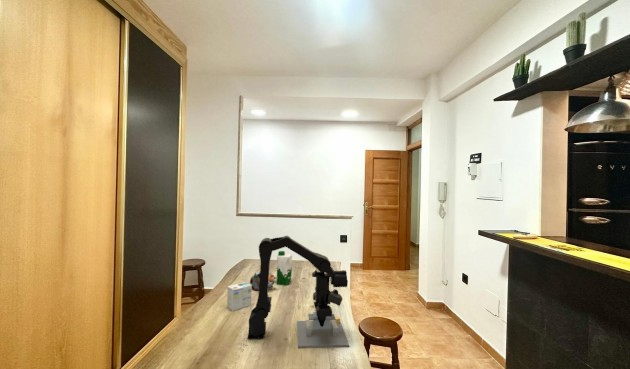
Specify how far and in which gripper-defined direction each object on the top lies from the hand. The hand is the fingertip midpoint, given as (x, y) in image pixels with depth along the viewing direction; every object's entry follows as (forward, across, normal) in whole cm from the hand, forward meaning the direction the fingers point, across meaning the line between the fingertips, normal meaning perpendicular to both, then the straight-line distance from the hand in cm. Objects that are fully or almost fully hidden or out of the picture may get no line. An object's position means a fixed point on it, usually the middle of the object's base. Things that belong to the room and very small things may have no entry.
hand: (321, 323), depth 118 cm
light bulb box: (+5, +28, +39) cm, 48 cm away
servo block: (+1, 0, 0) cm, 1 cm away
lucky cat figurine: (+5, +53, +29) cm, 61 cm away
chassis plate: (+4, 0, 0) cm, 4 cm away
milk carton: (+5, +62, +17) cm, 64 cm away
